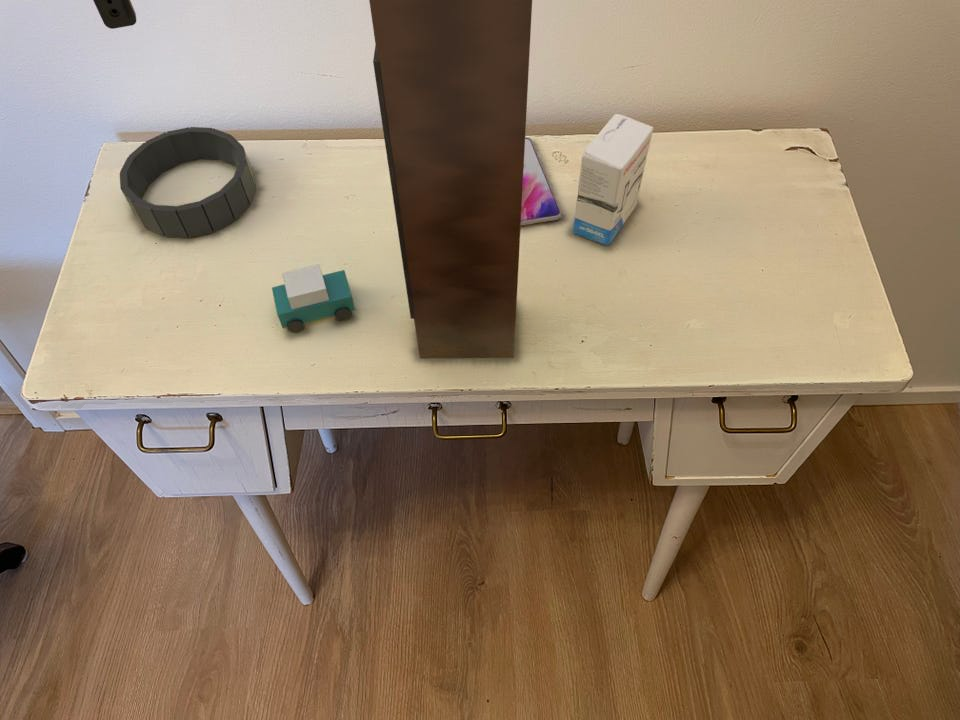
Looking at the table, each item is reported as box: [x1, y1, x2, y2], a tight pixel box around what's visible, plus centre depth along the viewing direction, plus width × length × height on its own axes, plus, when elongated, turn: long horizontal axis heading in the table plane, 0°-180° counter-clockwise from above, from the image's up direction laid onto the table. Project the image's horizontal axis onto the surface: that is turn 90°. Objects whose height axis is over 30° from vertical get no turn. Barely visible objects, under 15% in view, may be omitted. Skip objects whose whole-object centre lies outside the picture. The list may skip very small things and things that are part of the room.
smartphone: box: [521, 136, 562, 226], centre depth 91 cm, size 7×1×15 cm
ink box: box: [572, 113, 654, 247], centre depth 83 cm, size 9×5×12 cm, turn 148°
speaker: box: [368, 0, 533, 359], centre depth 62 cm, size 10×7×40 cm
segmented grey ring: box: [119, 126, 257, 239], centre depth 89 cm, size 15×15×4 cm
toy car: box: [271, 263, 356, 334], centre depth 78 cm, size 8×5×5 cm, turn 108°
